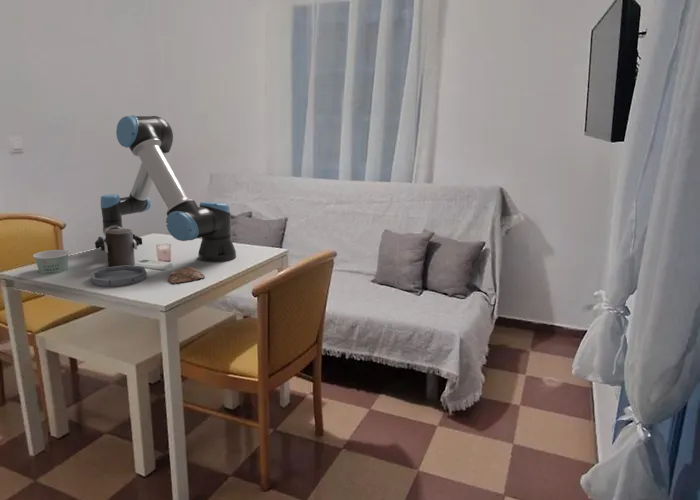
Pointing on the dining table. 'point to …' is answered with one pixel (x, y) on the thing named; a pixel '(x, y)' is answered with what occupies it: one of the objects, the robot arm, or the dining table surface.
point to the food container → (52, 261)
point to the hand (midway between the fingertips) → (121, 247)
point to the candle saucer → (118, 276)
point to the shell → (185, 275)
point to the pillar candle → (120, 247)
